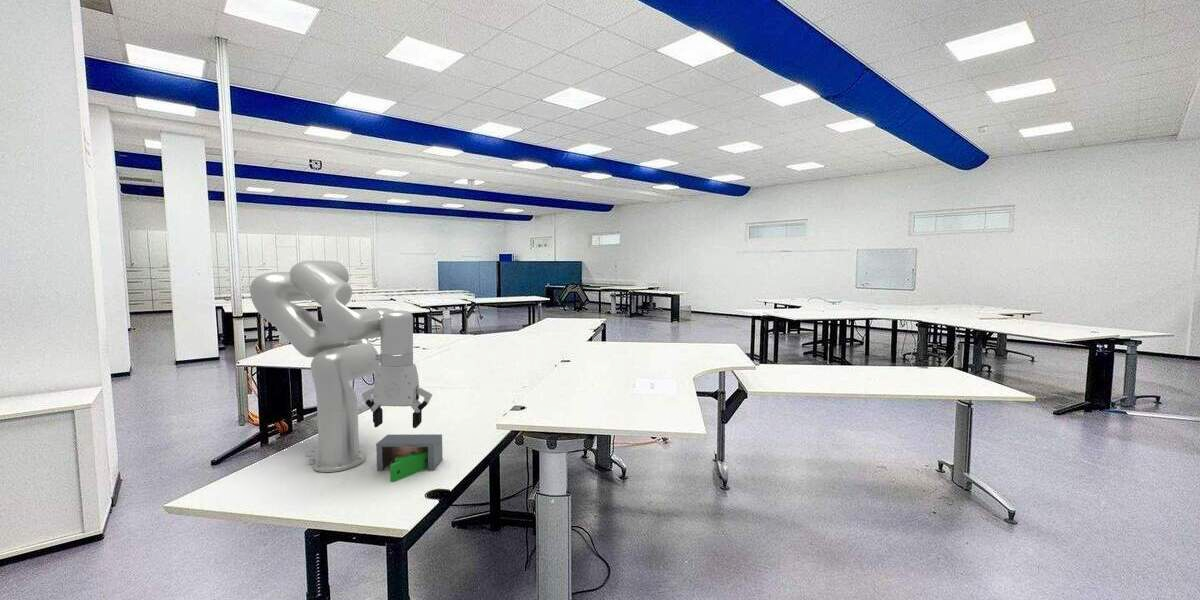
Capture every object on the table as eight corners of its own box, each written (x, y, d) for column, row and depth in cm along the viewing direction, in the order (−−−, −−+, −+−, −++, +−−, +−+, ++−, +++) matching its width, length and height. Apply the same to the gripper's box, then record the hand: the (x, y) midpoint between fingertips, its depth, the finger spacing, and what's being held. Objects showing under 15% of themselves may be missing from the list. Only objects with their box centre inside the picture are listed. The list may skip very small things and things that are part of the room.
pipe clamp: (422, 464, 126) (422, 447, 126) (431, 467, 124) (431, 450, 124) (384, 479, 117) (383, 461, 116) (392, 483, 114) (392, 465, 114)
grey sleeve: (377, 470, 121) (376, 443, 120) (388, 460, 128) (387, 434, 127) (434, 470, 121) (433, 443, 121) (442, 460, 128) (442, 434, 127)
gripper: (354, 362, 112) (355, 430, 114) (426, 364, 112) (426, 432, 114) (369, 355, 120) (370, 420, 121) (436, 357, 120) (436, 421, 121)
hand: (397, 425), depth 117 cm, fingers open, 9 cm apart
